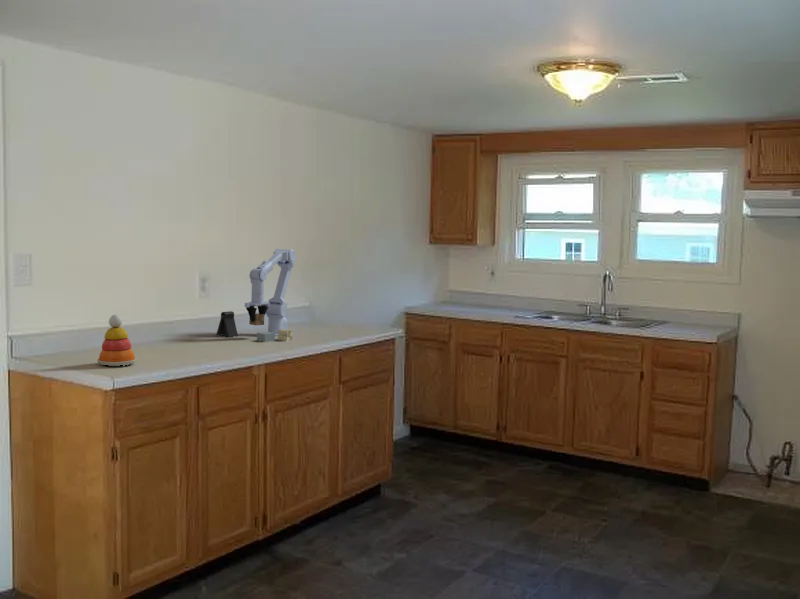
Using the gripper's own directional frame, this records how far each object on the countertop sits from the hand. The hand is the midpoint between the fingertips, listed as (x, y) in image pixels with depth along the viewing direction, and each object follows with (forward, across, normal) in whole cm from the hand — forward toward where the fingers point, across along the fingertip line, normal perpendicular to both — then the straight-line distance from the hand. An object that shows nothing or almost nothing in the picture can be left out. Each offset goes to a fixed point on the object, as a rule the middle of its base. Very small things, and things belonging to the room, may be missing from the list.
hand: (256, 321), depth 391 cm
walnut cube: (+2, 0, 0) cm, 2 cm away
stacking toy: (+9, +89, +18) cm, 91 cm away
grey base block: (+9, +2, +8) cm, 12 cm away
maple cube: (+8, -7, +12) cm, 17 cm away
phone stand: (+9, +6, -15) cm, 18 cm away
